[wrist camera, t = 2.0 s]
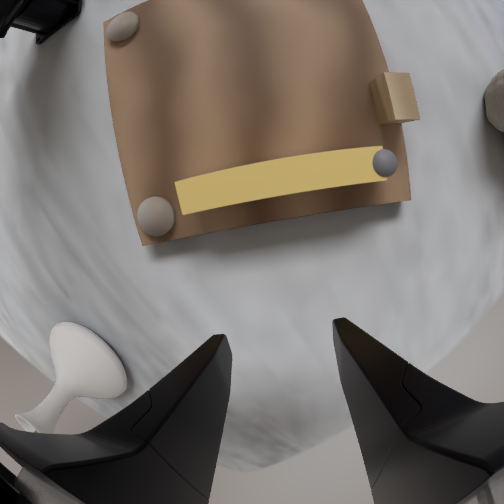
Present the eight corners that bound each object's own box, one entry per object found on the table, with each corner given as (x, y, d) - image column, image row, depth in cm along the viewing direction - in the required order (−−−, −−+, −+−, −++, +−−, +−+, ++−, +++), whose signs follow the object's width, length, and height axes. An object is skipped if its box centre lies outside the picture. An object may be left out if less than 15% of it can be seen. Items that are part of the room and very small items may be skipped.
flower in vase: (83, 381, 29) (4, 507, 6) (45, 313, 26) (-71, 439, 2) (158, 392, 28) (86, 568, 4) (120, 313, 24) (-23, 517, 1)
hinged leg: (378, 145, 15) (394, 144, 13) (383, 175, 16) (399, 179, 13) (187, 178, 17) (174, 181, 15) (194, 207, 18) (182, 215, 15)
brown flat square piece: (151, 239, 21) (124, 259, 17) (112, 28, 15) (85, 12, 10) (401, 196, 18) (430, 207, 14) (341, -24, 12) (352, -52, 8)
